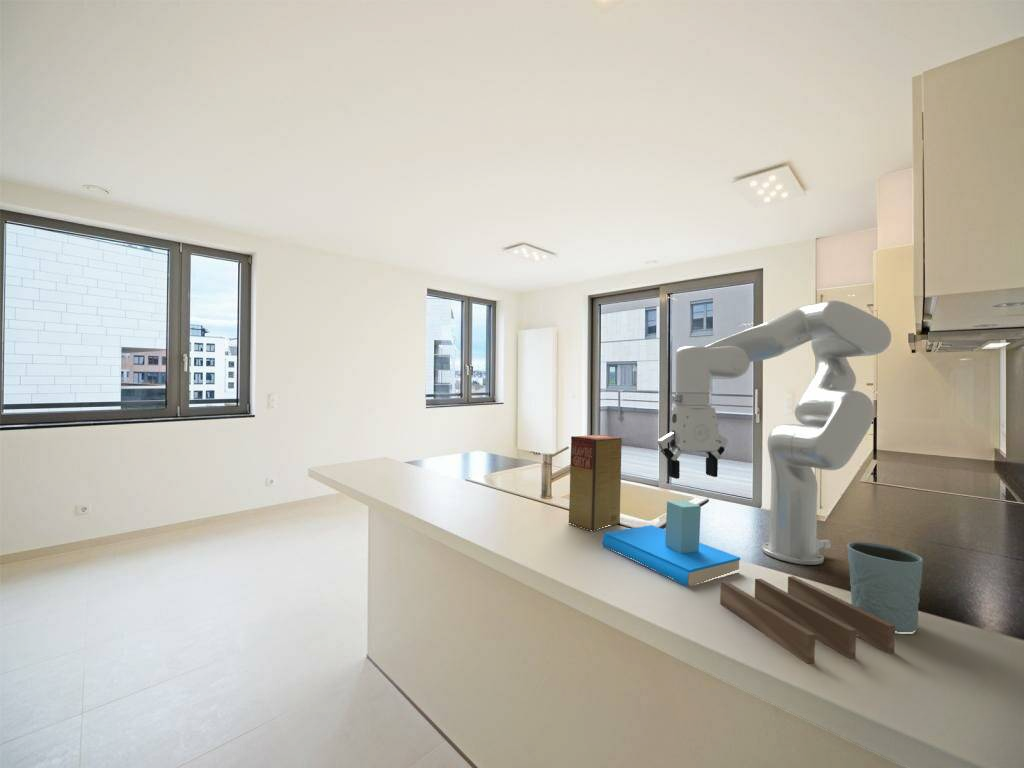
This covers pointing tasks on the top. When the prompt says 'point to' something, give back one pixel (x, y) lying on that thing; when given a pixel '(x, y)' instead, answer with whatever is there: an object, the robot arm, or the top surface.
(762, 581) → the slot rack
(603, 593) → the top surface
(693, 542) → the block
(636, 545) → the book
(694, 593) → the top surface
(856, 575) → the blue plant pot
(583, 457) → the food packaging
